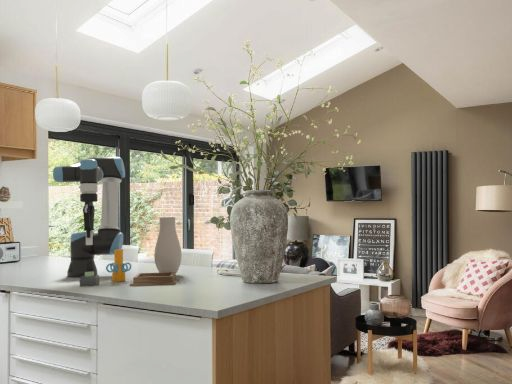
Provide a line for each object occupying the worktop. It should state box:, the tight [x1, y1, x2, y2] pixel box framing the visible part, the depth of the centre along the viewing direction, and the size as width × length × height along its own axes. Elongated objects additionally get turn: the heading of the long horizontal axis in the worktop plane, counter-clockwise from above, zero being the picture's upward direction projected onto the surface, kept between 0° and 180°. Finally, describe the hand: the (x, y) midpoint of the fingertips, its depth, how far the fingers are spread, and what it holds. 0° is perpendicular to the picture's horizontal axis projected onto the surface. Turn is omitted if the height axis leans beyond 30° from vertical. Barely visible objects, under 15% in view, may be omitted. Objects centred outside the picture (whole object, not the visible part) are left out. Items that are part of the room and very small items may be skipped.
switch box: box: [79, 274, 100, 288], centre depth 232 cm, size 7×7×4 cm
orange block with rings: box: [105, 248, 132, 283], centre depth 245 cm, size 12×10×15 cm
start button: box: [85, 272, 94, 277], centre depth 232 cm, size 4×4×3 cm
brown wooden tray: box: [129, 272, 179, 287], centre depth 237 cm, size 19×20×4 cm
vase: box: [153, 216, 182, 275], centre depth 263 cm, size 14×14×30 cm
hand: (89, 244), depth 232 cm, fingers closed
